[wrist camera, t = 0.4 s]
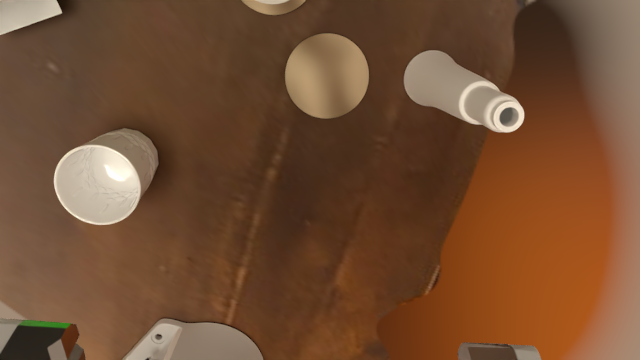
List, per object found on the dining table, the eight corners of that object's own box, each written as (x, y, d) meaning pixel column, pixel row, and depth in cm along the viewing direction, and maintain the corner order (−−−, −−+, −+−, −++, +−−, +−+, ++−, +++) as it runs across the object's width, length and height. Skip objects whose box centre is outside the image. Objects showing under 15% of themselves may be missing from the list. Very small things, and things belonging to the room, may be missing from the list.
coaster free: (318, 133, 60) (318, 134, 59) (268, 67, 57) (267, 68, 57) (384, 84, 58) (385, 85, 58) (336, 15, 56) (336, 15, 55)
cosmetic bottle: (401, 53, 58) (465, 79, 37) (457, 46, 58) (552, 68, 37) (405, 108, 59) (467, 163, 39) (458, 102, 60) (550, 153, 39)
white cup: (167, 190, 61) (144, 224, 51) (96, 191, 60) (60, 226, 51) (160, 122, 58) (135, 144, 49) (87, 123, 58) (47, 145, 49)
